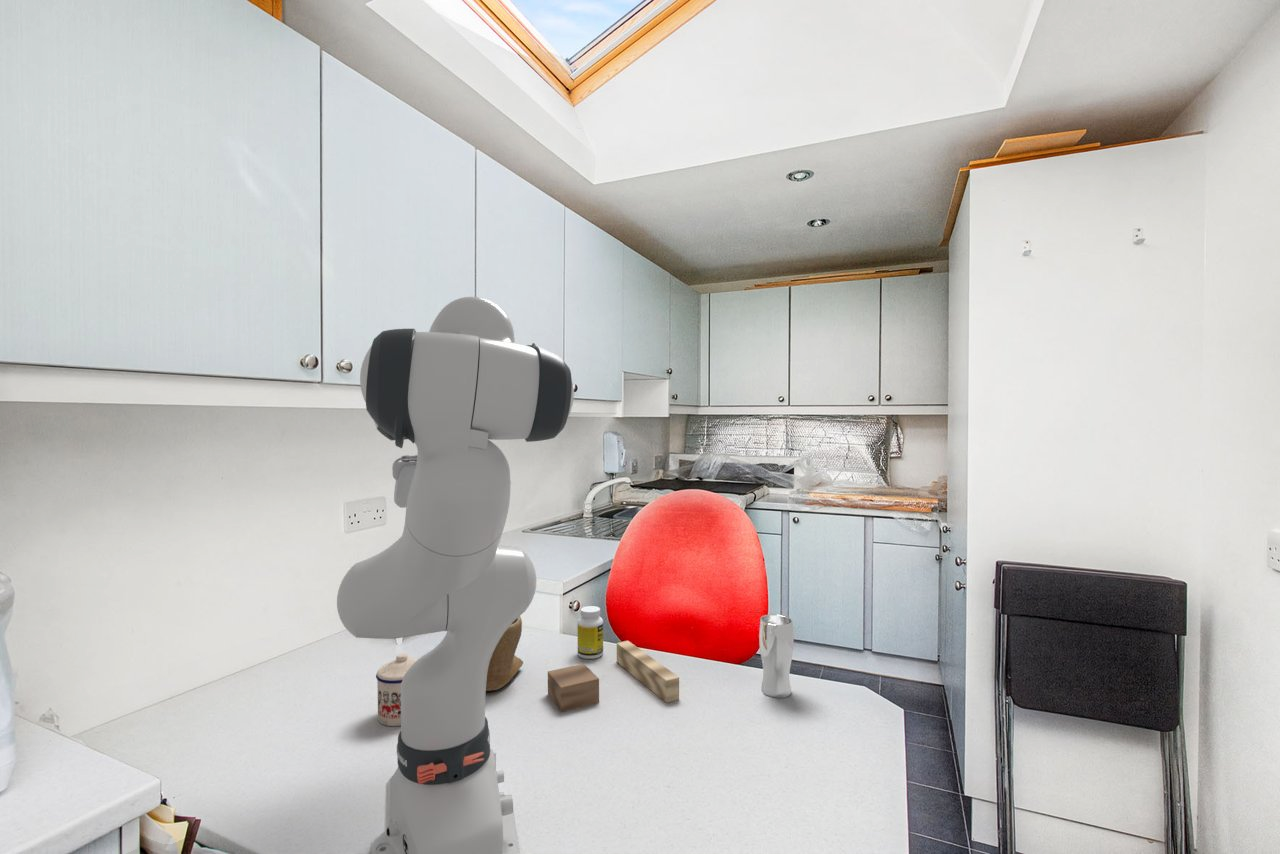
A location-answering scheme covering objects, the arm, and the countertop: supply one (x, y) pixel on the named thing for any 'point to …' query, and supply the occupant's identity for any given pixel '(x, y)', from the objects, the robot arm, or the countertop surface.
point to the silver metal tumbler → (776, 654)
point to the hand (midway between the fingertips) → (453, 527)
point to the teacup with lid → (391, 689)
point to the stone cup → (505, 658)
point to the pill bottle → (590, 633)
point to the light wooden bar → (648, 671)
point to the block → (573, 687)
